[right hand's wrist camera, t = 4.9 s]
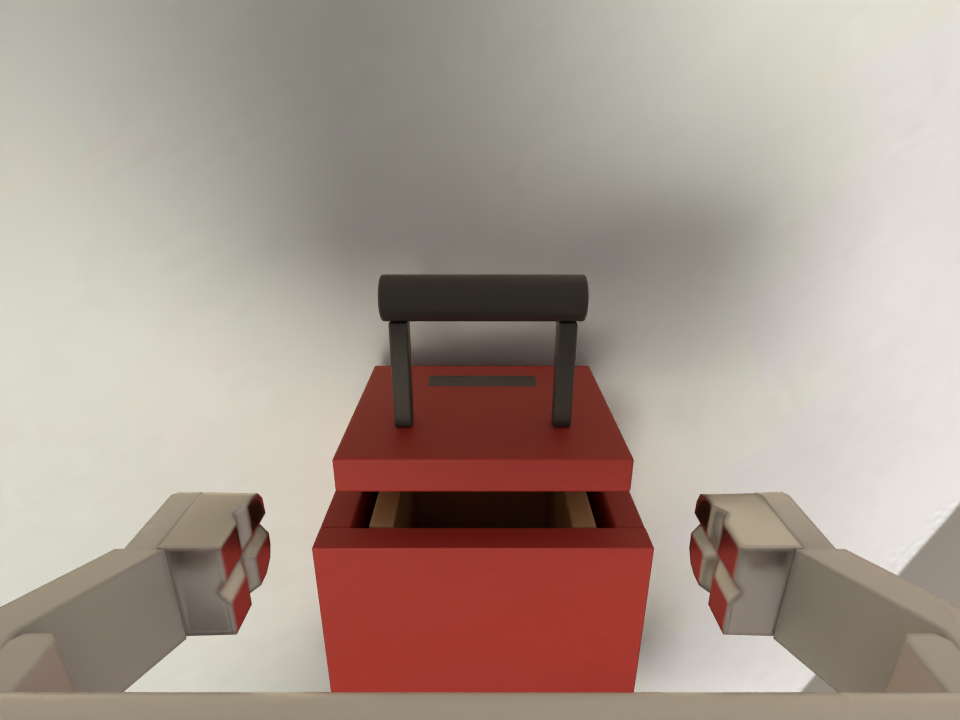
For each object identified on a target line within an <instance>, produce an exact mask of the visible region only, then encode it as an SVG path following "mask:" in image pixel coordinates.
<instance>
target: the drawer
mask: <svg viewBox="0 0 960 720" xmlns="http://www.w3.org/2000/svg"><path fill="white" fill-rule="evenodd" d="M588 298H589V293H588V282H587V278H586V276H585V275H381V277H380V280H379V285H378V307H379V314H380V317H381V319H382V320H383V321H390V322H389V340H390V356H391V366H375V368H374V370H373V372H372V374H371V377H370V379H369V381H368V383H367V385H366V387H365V390H364V392H363V394H362V396H361V398H360V401H359V403H358V405H357V407H356V409H355V412H354V414H353V416H352V418H351V420H350V423H349V425H348V427H347V429H346V431H345V434H344V436H343V438H342V440H341V442H340V445H339V447H338V449H337V451H336V453H335V456H334V458H333V469H334V478H335V487H336V491H379V493H378V497H377V501H376V504H375V508H374V511H373V515H372V518H371V522H370V525H369V528H596V524H595V520H594V517H593V514H592V510H591V507H590V504H589V501H588V497H587V494H586V491H630V487H631V479H632V470H633V461H634V460H633V457H632V455H631V453H630V451H629V449H628V447H627V445H626V443H625V441H624V439H623V437H622V435H621V432H620V430H619V428H618V426H617V424H616V422H615V420H614V418H613V416H612V414H611V412H610V410H609V407H608V405H607V403H606V401H605V399H604V397H603V395H602V393H601V391H600V389H599V387H598V385H597V382H596V380H595V378H594V376H593V374H592V372H591V370H590V368H589V367H588V366H575V356H576V341H577V326H578V324H577V322H576V321H584V320H585V318H586V315H587V310H588ZM410 321H556V340H555V359H554V366H412V364H411V343H410Z"/></svg>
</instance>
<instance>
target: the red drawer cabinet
mask: <svg viewBox="0 0 960 720" xmlns="http://www.w3.org/2000/svg"><path fill="white" fill-rule="evenodd" d="M378 493H379V491H335V494H334V496H333V499H332V501H331V504H330V506H329V509H328V511H327V514H326V516H325V518H324V521H323V523H322V526H321V529H320V530H319V533H318V535H317V538H316V540H315V543H314V545H313V548H312V551H313V559H314V566H315V574H316V581H317V589H318V596H319V604H320V611H321V619H322V626H323V634H324V641H325V649H326V656H327V664H328V671H329V679H330V686H331V692H564V693H628V692H634V687H635V680H636V672H637V665H638V658H639V651H640V644H641V637H642V630H643V623H644V616H645V609H646V601H647V594H648V587H649V580H650V573H651V566H652V559H653V552H654V547H653V545H652V543H651V540H650V538H649V536H648V533H647V531H646V529H645V528H644V525H643V523H642V520H641V518H640V516H639V513H638V511H637V509H636V506H635V504H634V502H633V499H632V497H631V495H630V492H629V491H586V494H587V497H588V501H589V504H590V507H591V510H592V514H593V517H594V520H595V524H596V528H369V525H370V522H371V518H372V515H373V511H374V508H375V504H376V501H377V497H378Z"/></svg>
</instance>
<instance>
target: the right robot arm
mask: <svg viewBox="0 0 960 720" xmlns="http://www.w3.org/2000/svg"><path fill="white" fill-rule="evenodd" d="M264 514H265V509H264V504H263V500H262V497H261V496H260V495H258V494H256V493H209V492H206V493H202V492H179V493H175V494H172V495H171V496H170V497H169V498H168V499H167V500H166V502H165V503H164V504H163V505H162V506H161V507H160V508H159V510H158V511H157V512H156V513H155V514H154V515H153V516H152V518H151V519H150V520H149V521H148V522H147V523H146V524H145V526H144V527H143V528H142V529H141V530H140V531H139V532H138V534H137V535H136V536H135V537H134V538H133V539H132V540H131V542H130V543H129V544H128V545H127V546H126V547H125V548H124V549H114V550H112V551H110V552H108V553H106V554H104V555H103V556H101V557H99V558H97V559H95V560H93V561H91V562H89V563H87V564H85V565H83V566H81V567H79V568H77V569H75V570H73V571H71V572H69V573H67V574H65V575H63V576H61V577H59V578H57V579H55V580H53V581H51V582H49V583H47V584H45V585H43V586H41V587H39V588H37V589H35V590H33V591H31V592H29V593H27V594H25V595H23V596H21V597H19V598H17V599H16V600H14V601H12V602H10V603H8V604H6V605H4V606H2V607H0V720H960V607H958V606H956V605H954V604H952V603H950V602H948V601H946V600H944V599H942V598H940V597H938V596H936V595H934V594H932V593H930V592H928V591H926V590H924V589H923V588H921V587H919V586H917V585H915V584H913V583H911V582H909V581H907V580H905V579H903V578H901V577H899V576H897V575H895V574H893V573H891V572H889V571H887V570H885V569H883V568H881V567H879V566H877V565H875V564H873V563H871V562H869V561H867V560H865V559H863V558H861V557H859V556H857V555H855V554H854V553H852V552H850V551H848V550H846V549H836V548H835V547H834V546H833V545H832V544H831V543H830V542H829V540H828V539H827V538H826V537H825V536H824V535H823V534H822V532H821V531H820V530H819V529H818V528H817V527H816V526H815V524H814V523H813V522H812V521H811V520H810V519H809V518H808V516H807V515H806V514H805V513H804V512H803V511H802V510H801V508H800V507H799V506H798V505H797V504H796V503H795V502H794V500H793V499H792V498H791V497H790V496H789V495H787V494H785V493H783V492H765V493H750V494H700V496H699V498H698V500H697V503H696V509H695V514H696V516H697V518H698V520H699V521H700V523H701V524H700V525H699V526H698V527H697V528H696V529H695V530H694V531H693V532H692V533H691V540H690V547H689V549H690V561H691V566H692V569H693V573H694V576H695V578H696V580H697V582H698V584H699V585H700V586H701V587H702V588H704V589H705V590H707V591H708V592H709V593H710V597H709V603H708V605H709V607H710V609H711V611H712V613H713V615H714V617H715V619H716V621H717V623H718V625H719V627H720V629H721V631H722V633H723V634H725V635H761V636H774V639H775V640H776V641H777V642H778V643H780V644H781V645H782V646H783V647H784V648H786V649H787V650H788V651H789V652H790V653H791V654H793V655H794V656H795V657H796V658H797V659H799V660H800V661H801V662H802V663H803V664H804V665H806V666H807V667H808V668H809V669H810V670H812V671H813V672H814V673H815V674H816V675H817V676H819V677H820V678H821V679H822V680H823V681H825V682H826V683H827V684H828V685H829V686H830V687H832V688H833V689H834V690H835V691H837V692H628V693H564V692H124V691H125V690H126V689H127V688H129V687H130V686H131V685H132V684H133V683H134V682H136V681H137V680H138V679H139V678H140V677H142V676H143V675H144V674H145V673H146V672H147V671H149V670H150V669H151V668H152V667H153V666H155V665H156V664H157V663H158V662H159V661H160V660H162V659H163V658H164V657H165V656H166V655H168V654H169V653H170V652H171V651H172V650H173V649H175V648H176V647H177V646H178V645H179V644H181V643H182V642H183V641H184V640H185V639H186V636H199V635H233V634H237V633H238V631H239V629H240V627H241V625H242V623H243V621H244V619H245V617H246V615H247V613H248V611H249V609H250V607H251V605H252V603H251V597H250V593H251V592H252V591H253V590H255V589H256V588H258V587H259V586H260V585H261V584H262V582H263V580H264V578H265V576H266V573H267V569H268V565H269V560H270V539H269V533H268V532H267V531H266V530H265V529H264V528H263V527H262V526H261V525H260V524H259V523H260V521H261V520H262V518H263V516H264Z"/></svg>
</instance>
